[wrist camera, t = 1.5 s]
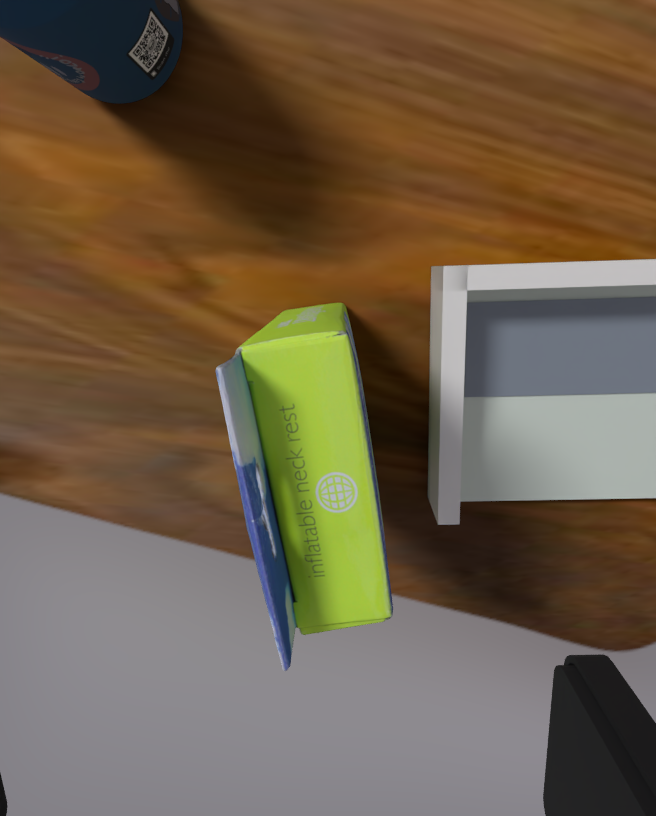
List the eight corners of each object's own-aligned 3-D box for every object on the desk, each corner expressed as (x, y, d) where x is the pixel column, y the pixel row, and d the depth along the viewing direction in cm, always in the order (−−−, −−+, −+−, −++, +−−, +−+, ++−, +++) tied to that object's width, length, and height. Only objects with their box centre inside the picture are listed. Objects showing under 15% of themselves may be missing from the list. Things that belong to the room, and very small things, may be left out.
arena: (760, 255, 30) (819, 254, 26) (721, 491, 33) (768, 519, 29) (431, 266, 30) (443, 266, 27) (427, 496, 34) (438, 524, 30)
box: (376, 466, 33) (408, 666, 17) (311, 476, 34) (279, 683, 17) (347, 295, 31) (353, 330, 14) (277, 308, 31) (201, 357, 14)
